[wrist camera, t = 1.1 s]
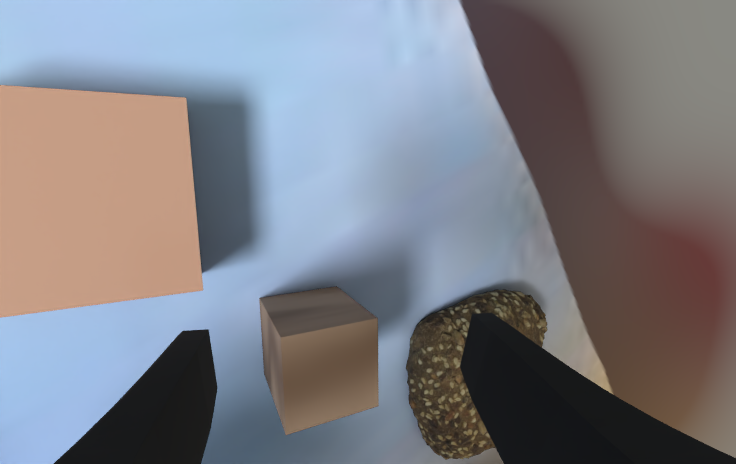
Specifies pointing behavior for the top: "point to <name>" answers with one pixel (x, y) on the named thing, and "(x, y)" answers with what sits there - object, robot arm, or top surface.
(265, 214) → the top surface
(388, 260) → the top surface
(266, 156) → the top surface
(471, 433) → the bread roll
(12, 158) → the terracotta tile
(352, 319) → the walnut block
